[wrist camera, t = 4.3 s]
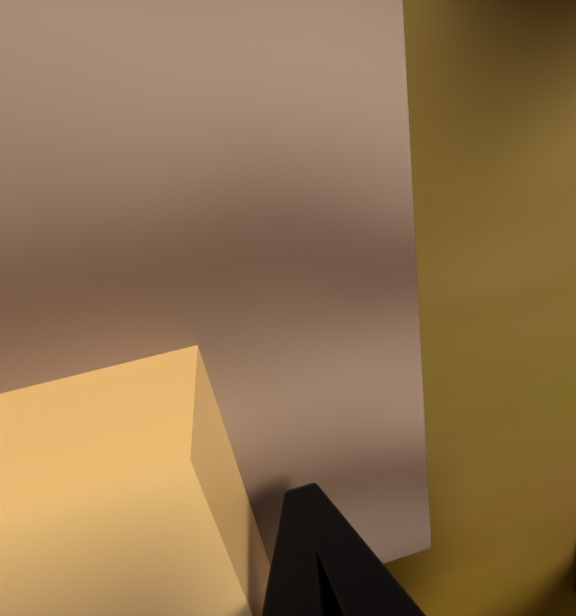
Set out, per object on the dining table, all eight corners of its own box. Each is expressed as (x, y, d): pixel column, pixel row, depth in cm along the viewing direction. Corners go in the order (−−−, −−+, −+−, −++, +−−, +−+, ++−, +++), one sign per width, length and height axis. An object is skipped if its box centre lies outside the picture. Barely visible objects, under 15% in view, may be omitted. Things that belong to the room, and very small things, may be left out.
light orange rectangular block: (273, 577, 11) (293, 718, 8) (62, 641, 11) (12, 814, 8) (197, 344, 8) (190, 459, 5) (-124, 423, 7) (-330, 601, 4)
